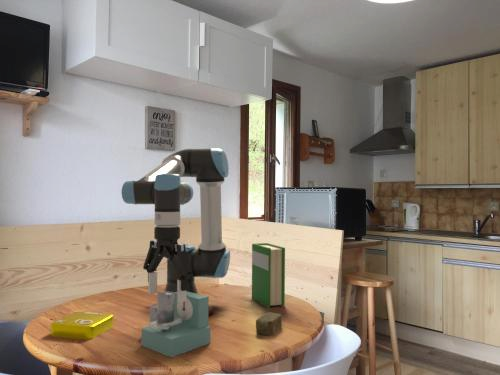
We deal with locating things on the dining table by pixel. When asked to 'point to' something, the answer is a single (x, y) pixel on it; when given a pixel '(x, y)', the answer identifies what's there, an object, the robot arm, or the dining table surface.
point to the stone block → (268, 323)
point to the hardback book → (268, 274)
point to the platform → (165, 324)
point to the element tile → (82, 325)
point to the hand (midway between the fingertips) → (166, 297)
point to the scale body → (182, 328)
